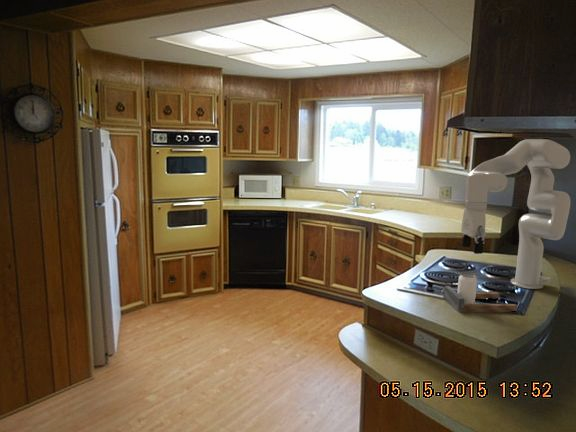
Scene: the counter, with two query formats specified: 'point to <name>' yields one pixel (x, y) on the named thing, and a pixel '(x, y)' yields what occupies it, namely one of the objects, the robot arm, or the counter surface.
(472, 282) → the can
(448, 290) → the guide track
